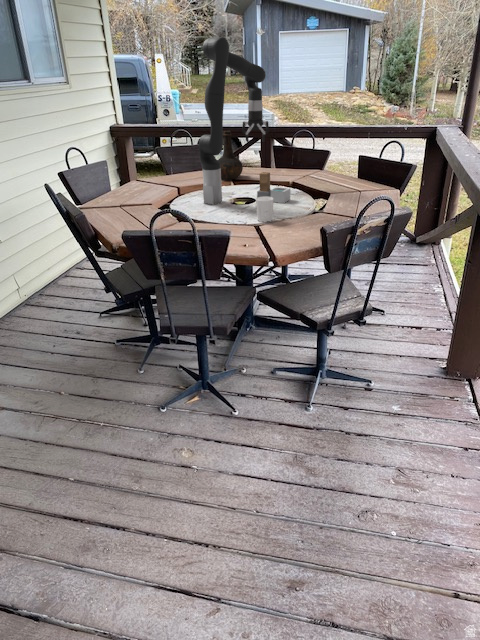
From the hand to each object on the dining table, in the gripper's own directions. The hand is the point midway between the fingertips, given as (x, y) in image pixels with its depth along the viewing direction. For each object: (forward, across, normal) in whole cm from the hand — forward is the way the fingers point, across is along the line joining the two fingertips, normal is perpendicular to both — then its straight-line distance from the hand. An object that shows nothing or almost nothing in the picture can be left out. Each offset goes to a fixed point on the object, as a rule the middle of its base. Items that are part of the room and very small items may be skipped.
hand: (255, 141), depth 266 cm
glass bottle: (+25, -16, +30) cm, 42 cm away
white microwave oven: (+26, +12, -28) cm, 40 cm away
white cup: (+27, +2, -61) cm, 66 cm away
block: (+21, +4, -24) cm, 32 cm away
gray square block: (+26, +4, -24) cm, 35 cm away
